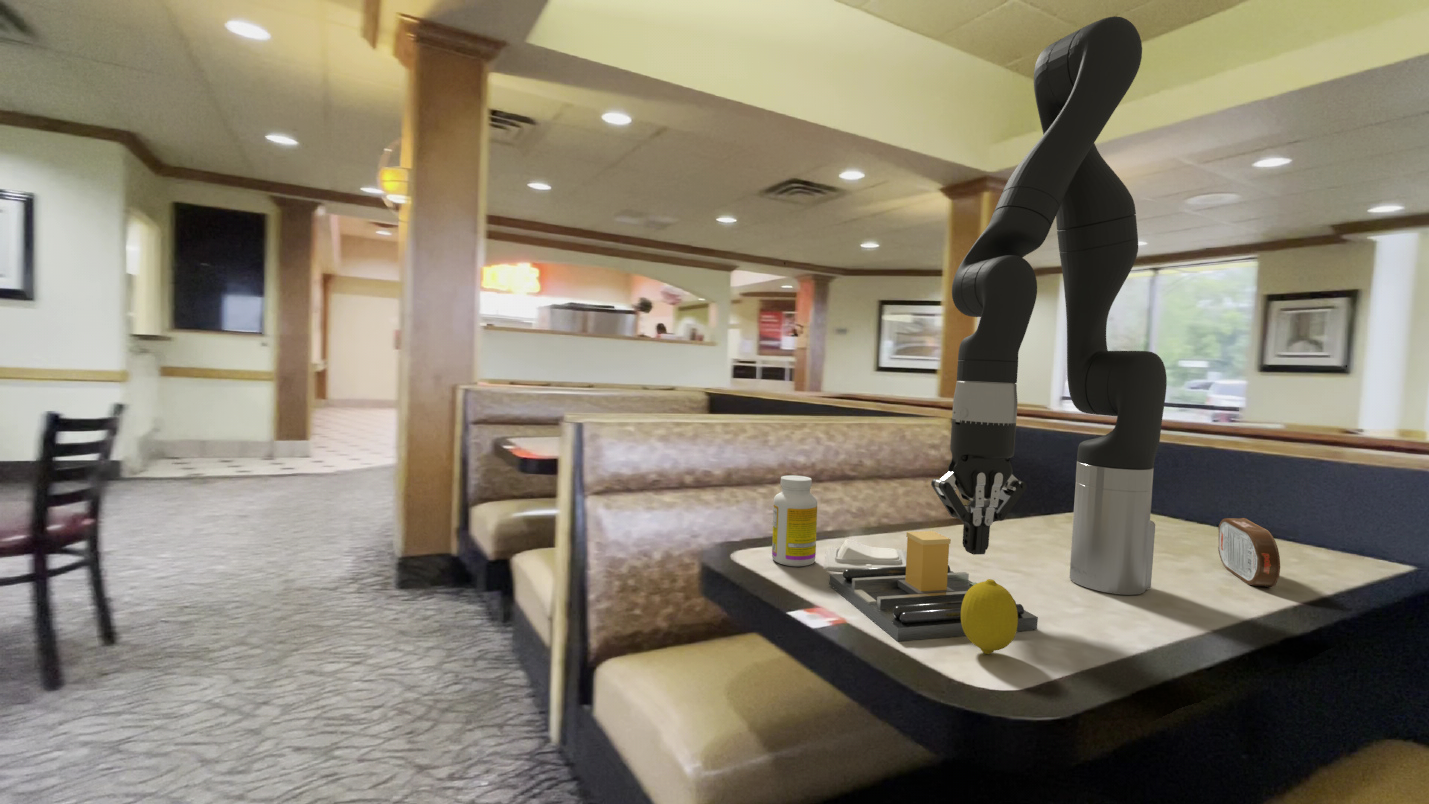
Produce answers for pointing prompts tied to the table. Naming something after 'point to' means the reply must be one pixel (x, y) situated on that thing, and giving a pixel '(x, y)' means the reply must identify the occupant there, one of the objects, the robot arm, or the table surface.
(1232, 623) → the table surface
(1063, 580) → the table surface
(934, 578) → the lever
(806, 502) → the supplement bottle
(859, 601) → the panel
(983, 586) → the lemon
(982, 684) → the table surface
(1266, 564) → the tin
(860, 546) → the light switch
